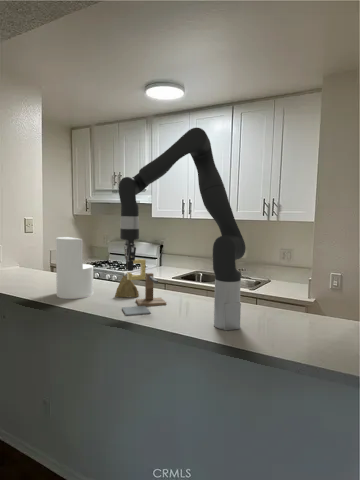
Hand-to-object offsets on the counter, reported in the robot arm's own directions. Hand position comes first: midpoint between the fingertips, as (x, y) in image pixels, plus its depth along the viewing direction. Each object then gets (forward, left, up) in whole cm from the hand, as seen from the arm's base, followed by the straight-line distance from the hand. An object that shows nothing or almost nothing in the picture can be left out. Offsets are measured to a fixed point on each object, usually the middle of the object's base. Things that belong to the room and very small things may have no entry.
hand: (129, 269), depth 134 cm
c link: (0, -3, -4) cm, 5 cm away
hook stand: (+8, -12, -18) cm, 23 cm away
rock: (+25, -4, -18) cm, 31 cm away
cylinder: (+36, +20, -18) cm, 45 cm away
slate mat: (0, -3, -18) cm, 18 cm away
